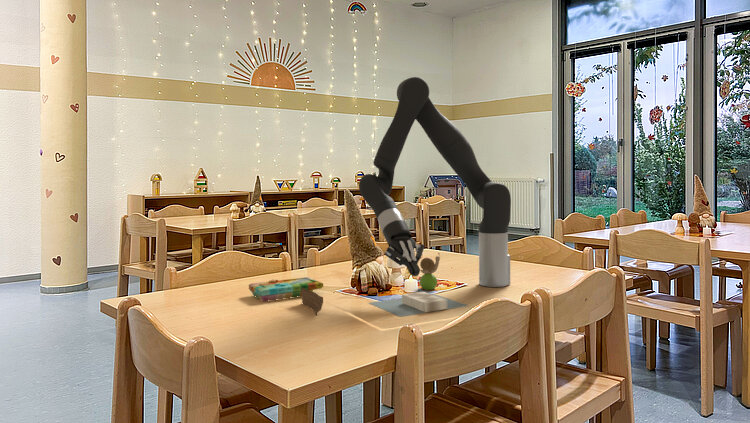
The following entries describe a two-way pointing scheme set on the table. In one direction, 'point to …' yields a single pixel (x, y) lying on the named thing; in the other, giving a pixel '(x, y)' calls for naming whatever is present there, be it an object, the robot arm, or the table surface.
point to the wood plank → (312, 300)
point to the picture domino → (424, 301)
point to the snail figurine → (429, 273)
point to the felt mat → (404, 310)
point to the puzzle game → (283, 288)
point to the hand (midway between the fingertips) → (416, 274)
